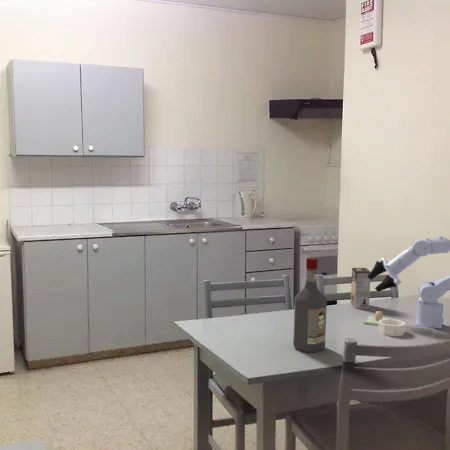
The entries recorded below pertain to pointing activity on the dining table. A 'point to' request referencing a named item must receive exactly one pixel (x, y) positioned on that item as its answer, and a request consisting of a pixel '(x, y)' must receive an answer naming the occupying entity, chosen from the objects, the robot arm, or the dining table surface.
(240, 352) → the dining table surface
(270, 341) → the dining table surface
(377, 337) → the dining table surface
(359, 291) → the coffee box
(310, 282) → the liquor
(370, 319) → the lid
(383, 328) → the bowl
